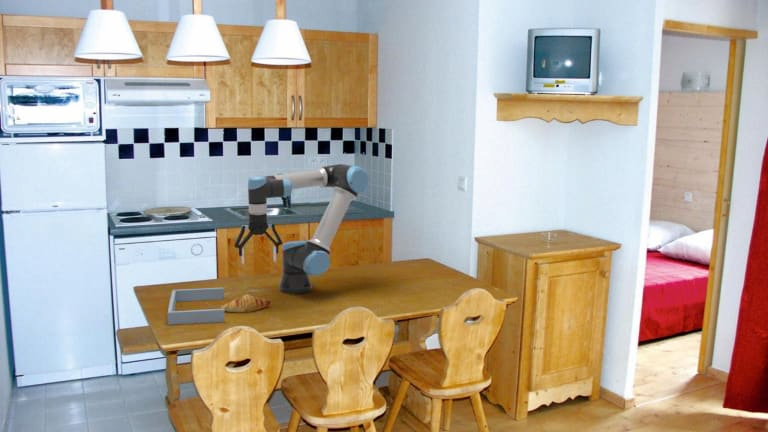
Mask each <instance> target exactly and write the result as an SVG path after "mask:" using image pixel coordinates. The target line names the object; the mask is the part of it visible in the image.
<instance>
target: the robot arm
mask: <svg viewBox="0 0 768 432" xmlns="http://www.w3.org/2000/svg"><path fill="white" fill-rule="evenodd" d="M247 181H248V182H247V193H248V194H247V195H248V199H247V200H248V213H249V214H248V225H245V224H242V225H241V228H240V229H241V230H240V231H239V234H238V236H237V238H236V240H235V243H234V244H233V246H234V248H235V249H238V255H239V256H238V257H240V258H241V264H242V265H245V249H244V246H245V245H246V244H247V243H248V242H249V240H250V239H251V237H253V236H263V235H265V236H266V237H267V238H268V239H269V240H270V241H271V242H272V243H273V244H274V245H272V252H273V253H272V255H273V256H272V257H273V258H272V260H273V261H274V262H275V263H276V262H277V254H279V247H280V246H281V245H282V251H281V252H282V275H281V278H280V282H279V284H278V287H279V288H278V289H279V292H281V293H285V294H292V295H297V294H298V295H299V294H306V293H309V292H311V291H312V282H311V279H310V276H314V277H315V276H316V277H317V276H320V275H323V274H325V272H327V271H328V269H329V267H330V264H331V260H330V259H331V258H330V254H331V248H330V247H331V244H332V242H333V240H334V238H335V236H336V234H337V232H338V229H339V226H340V225H341V223H342V221H343V219H344V217H345V215H346V213H347V211H348V208H349V206H350V204H351V202H352V201H353V200H355V199H357V197H358V195H359V193H363V192H365V190H366V189H367V188H368V185H369V177H368V174H367V172H366V170H365V169H364V168H363V167H360V166H357V165H348V164H342V163H339V164H333V165H326V166H322V167H320V166H319V167H318V168H317V169H313V170H305V171H299V172H298V171H295V172H289V173H281V174H272V175H266V176H263V175H256V176H254V175H253V176H250V177H249V178H248V179H247ZM313 187H320V188H333V189H332V190H333V192H334V193H333V195H332V197H331V198H330V202H329V204H328V205H327V207H326V208H325V209H326V210H325V211H324V214H323V215H322V218H321V219H320V222H319V223H318V225H317V227H316V230H315V232H314V234H313V236H312V238H311V239H308V240H294V241H287V242H284V243H283V241H282V239H281V237H280V235H279V233H278V231H277V230H276V226H275V223H273V222H272V223H269V224H268V214H267V211H268V209H267V199H272V198H273V199H275V198H285V197H289V196H291V194H292V193H293V190H299V189H306V188H307V189H308V188H313ZM268 228H269V229H270V230H272V232H273V235H274V237H275V238H276V240H277V241H276V240H275V239H274V238H273V237H272V236H271V235H270V234H269V233H268ZM247 230H249V231H248V233H247V234H246V236H245V237H244V238H243V236H244V234H245V231H247ZM241 240H242V241H241Z"/></svg>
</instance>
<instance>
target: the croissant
mask: <svg viewBox="0 0 768 432" xmlns="http://www.w3.org/2000/svg"><path fill="white" fill-rule="evenodd" d="M270 304H271V300H270V299H266V298H260V297H258V296H254V294H253V295H252V294H249V293H246V294H244V295H243V296H241V297H237V298H235V299H234V300H231V301H229V302H228V301H227V303H225V304H223V305H221V306H220V309H224V312H229V313H243V314H244V313H250V312H255V311H257V310H258V311H259V310H261V309H264V308H266V307H268V306H269V305H270Z"/></svg>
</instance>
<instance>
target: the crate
mask: <svg viewBox="0 0 768 432" xmlns="http://www.w3.org/2000/svg"><path fill="white" fill-rule="evenodd" d="M224 290H225V288H224V287H210V288H209V287H207V288H205V287H204V288H188V289H187V288H186V289H172V290H171V295H170V299H169V303H168V310H167V325H168V326H169V325H170V326H172V325H174V326H175V325H190V324H205V323H207V324H208V323H210V324H211V323H224V322H226V321H225V320H226V319H225V318H226V317H225V316H226V315H225V311H224V309H221V308H212V309H193V310H175V309H176V305H177V302H195V301H198V302H199V301H215V300H219V301H220V300H225V295H224V294H225V293H224Z"/></svg>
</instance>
